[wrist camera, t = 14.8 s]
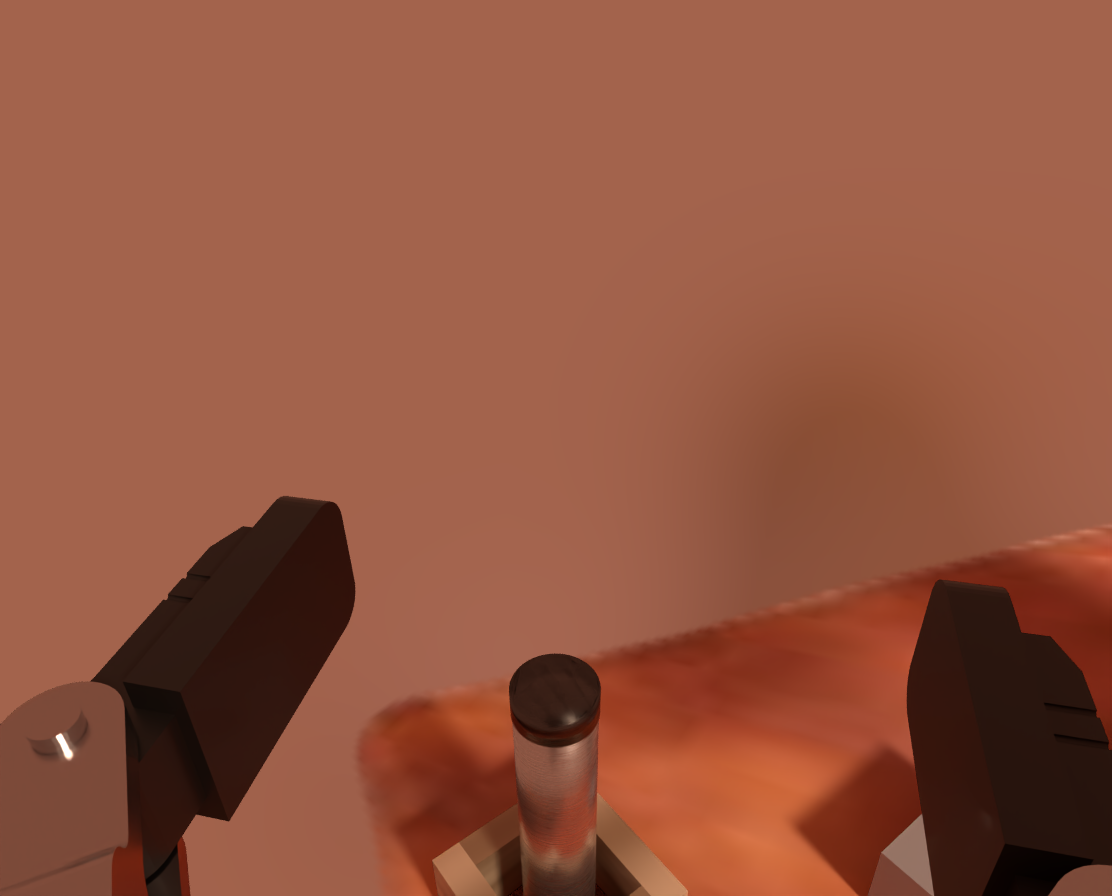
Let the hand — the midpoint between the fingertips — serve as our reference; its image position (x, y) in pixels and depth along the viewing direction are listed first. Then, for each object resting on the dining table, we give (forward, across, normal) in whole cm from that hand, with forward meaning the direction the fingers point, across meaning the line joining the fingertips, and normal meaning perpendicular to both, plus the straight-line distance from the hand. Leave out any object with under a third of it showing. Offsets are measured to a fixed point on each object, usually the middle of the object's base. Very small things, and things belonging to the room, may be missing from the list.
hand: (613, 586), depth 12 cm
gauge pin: (+12, +4, +32) cm, 34 cm away
